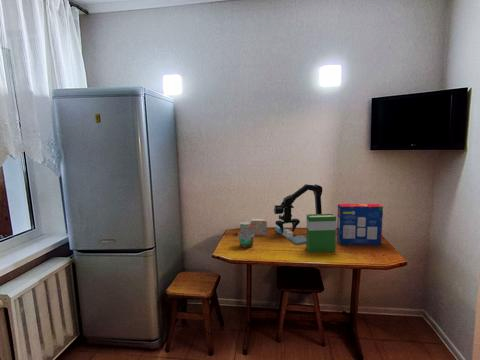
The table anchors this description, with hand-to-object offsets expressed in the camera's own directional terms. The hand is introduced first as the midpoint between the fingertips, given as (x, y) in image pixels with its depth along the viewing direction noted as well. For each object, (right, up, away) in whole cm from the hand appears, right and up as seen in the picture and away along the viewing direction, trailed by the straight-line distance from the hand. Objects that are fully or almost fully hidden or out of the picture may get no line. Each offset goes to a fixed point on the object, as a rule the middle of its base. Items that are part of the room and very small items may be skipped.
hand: (287, 232), depth 212 cm
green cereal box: (+18, -6, -28) cm, 33 cm away
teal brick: (-4, -2, +10) cm, 11 cm away
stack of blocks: (-26, -3, +7) cm, 27 cm away
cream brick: (0, -3, 0) cm, 3 cm away
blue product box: (+48, -4, -18) cm, 51 cm away
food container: (-34, -7, -21) cm, 40 cm away
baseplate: (+7, -4, -11) cm, 14 cm away
